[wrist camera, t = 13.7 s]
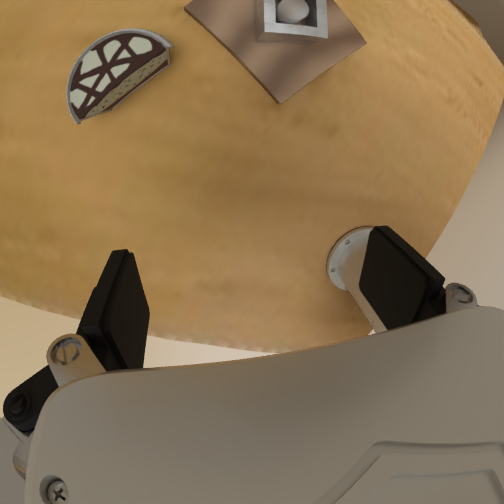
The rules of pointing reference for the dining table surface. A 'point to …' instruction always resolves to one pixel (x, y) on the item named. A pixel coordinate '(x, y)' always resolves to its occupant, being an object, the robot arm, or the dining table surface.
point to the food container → (114, 70)
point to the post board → (276, 53)
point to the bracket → (305, 33)
